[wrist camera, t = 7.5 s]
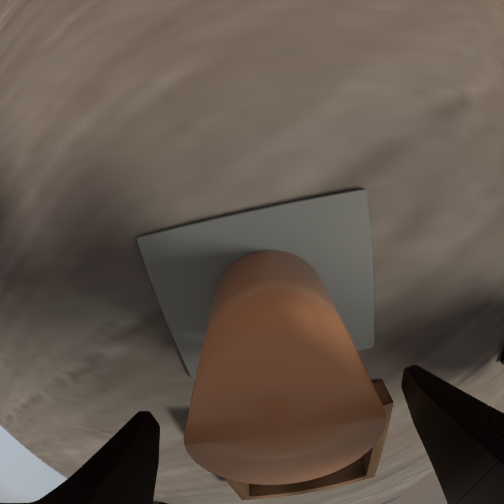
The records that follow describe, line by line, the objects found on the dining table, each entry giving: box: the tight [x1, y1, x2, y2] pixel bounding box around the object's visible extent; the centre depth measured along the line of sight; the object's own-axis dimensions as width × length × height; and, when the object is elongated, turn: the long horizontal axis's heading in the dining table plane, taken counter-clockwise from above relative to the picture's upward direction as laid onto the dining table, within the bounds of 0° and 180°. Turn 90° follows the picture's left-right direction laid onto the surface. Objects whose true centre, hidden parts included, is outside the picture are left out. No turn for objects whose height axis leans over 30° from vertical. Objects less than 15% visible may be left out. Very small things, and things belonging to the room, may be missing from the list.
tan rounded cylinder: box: [184, 250, 386, 485], centre depth 11 cm, size 6×8×9 cm
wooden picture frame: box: [225, 380, 393, 500], centre depth 20 cm, size 14×14×2 cm
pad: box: [136, 188, 375, 381], centre depth 15 cm, size 12×10×1 cm
